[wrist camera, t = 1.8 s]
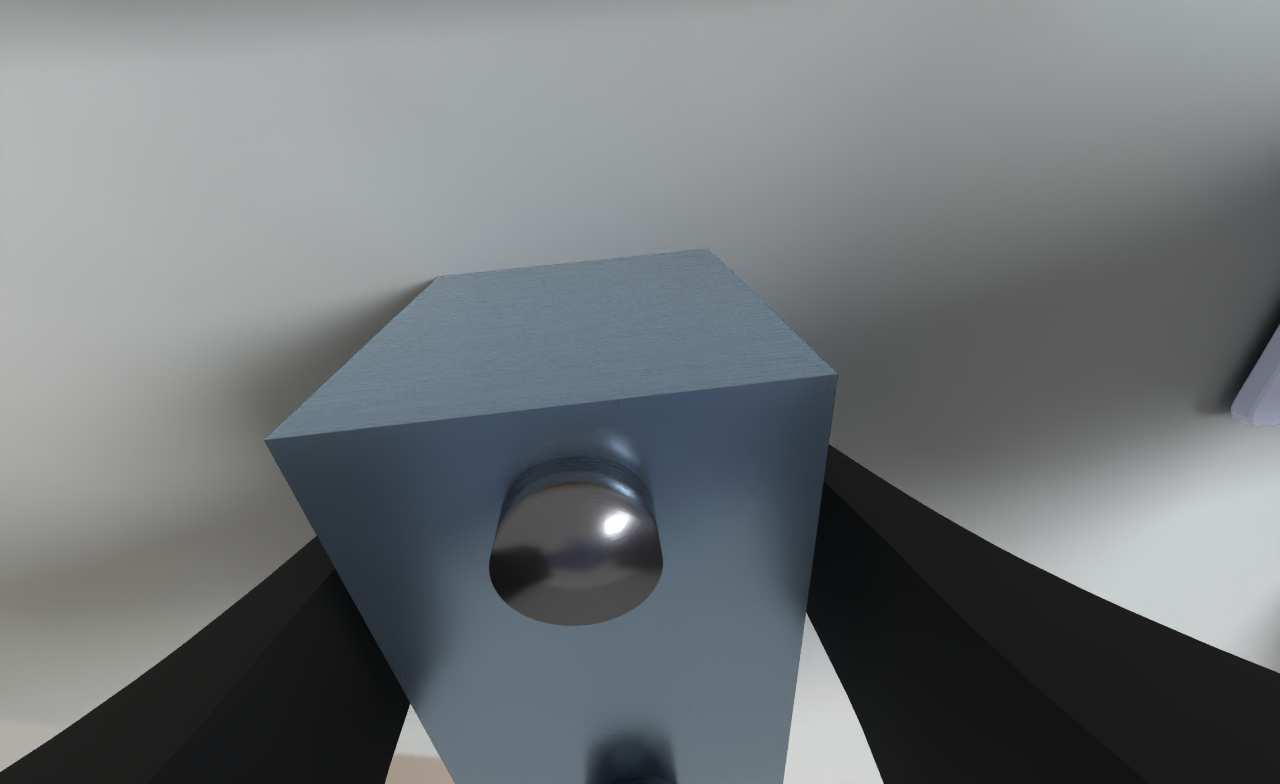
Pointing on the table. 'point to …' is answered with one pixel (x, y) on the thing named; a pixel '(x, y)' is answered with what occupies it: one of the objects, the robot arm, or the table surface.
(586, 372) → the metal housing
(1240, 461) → the table surface
